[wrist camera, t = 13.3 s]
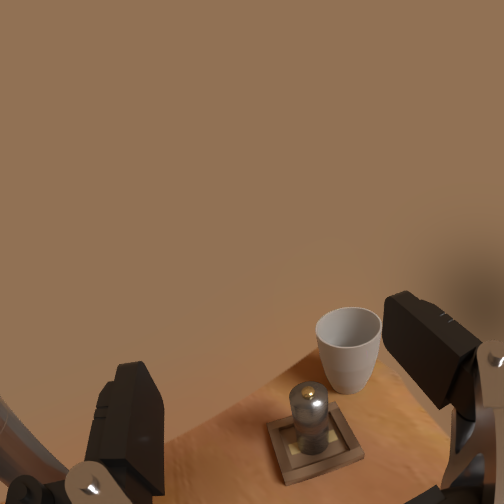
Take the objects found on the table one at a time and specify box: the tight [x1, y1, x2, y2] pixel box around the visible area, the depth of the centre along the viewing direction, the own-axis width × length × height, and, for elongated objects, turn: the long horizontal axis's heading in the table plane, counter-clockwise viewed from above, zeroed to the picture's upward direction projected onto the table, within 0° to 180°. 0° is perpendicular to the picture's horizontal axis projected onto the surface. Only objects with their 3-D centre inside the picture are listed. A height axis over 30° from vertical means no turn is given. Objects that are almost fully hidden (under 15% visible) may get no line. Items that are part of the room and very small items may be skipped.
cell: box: [289, 381, 329, 455], centre depth 26 cm, size 4×4×10 cm
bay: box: [266, 401, 365, 486], centre depth 28 cm, size 9×9×1 cm
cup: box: [316, 307, 382, 394], centre depth 35 cm, size 8×8×10 cm
